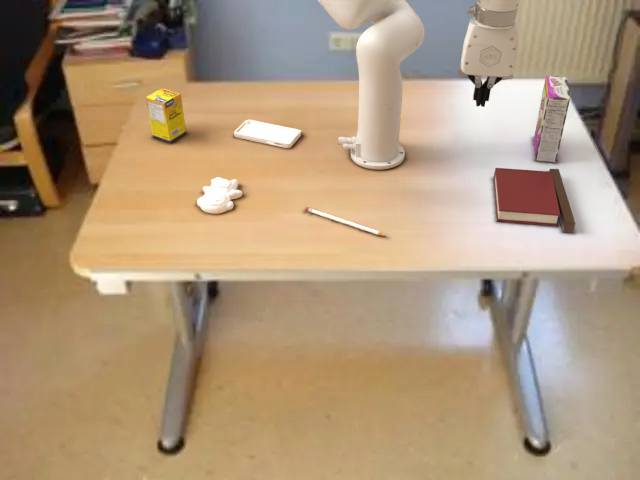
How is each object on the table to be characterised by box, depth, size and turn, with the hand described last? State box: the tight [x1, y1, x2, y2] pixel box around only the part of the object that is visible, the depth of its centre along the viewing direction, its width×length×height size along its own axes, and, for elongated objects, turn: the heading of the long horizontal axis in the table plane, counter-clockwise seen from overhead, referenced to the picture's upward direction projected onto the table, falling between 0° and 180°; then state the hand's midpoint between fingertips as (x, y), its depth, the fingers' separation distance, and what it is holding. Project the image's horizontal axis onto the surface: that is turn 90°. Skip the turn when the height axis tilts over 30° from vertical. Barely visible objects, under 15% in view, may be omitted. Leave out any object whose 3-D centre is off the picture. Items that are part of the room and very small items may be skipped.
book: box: [493, 167, 560, 227], centre depth 149 cm, size 12×16×3 cm
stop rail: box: [548, 168, 576, 234], centre depth 149 cm, size 2×20×2 cm, turn 174°
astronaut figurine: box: [196, 176, 243, 215], centre depth 151 cm, size 9×12×3 cm
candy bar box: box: [533, 75, 571, 164], centre depth 162 cm, size 11×5×16 cm, turn 168°
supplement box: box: [145, 87, 187, 144], centre depth 170 cm, size 6×6×11 cm
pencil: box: [305, 206, 387, 237], centre depth 144 cm, size 1×19×1 cm, turn 60°
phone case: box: [233, 119, 302, 149], centre depth 173 cm, size 7×1×15 cm
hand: (480, 103), depth 143 cm, fingers closed
